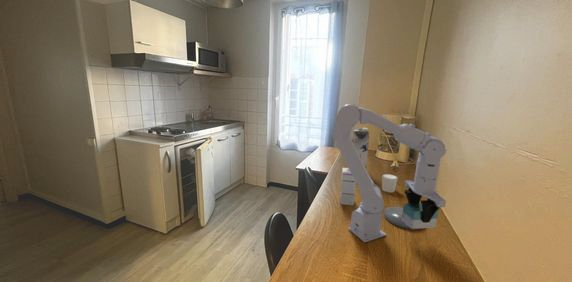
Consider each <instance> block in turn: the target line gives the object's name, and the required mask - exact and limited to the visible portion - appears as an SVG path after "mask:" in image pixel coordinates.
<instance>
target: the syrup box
mask: <svg viewBox="0 0 572 282" xmlns="http://www.w3.org/2000/svg"><path fill="white" fill-rule="evenodd" d="M356 185H357V183H356V181H355V179H354V177H353V175H352V173H351V172H350V170H349V168H348V167H342V168H341V177H340V194H339V201H340V205H346V206H355V197H356Z"/></svg>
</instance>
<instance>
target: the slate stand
mask: <svg viewBox="0 0 572 282" xmlns="http://www.w3.org/2000/svg"><path fill="white" fill-rule="evenodd" d="M383 212H384V213H383V217H384V218H385V219H386V220H387V222H389V224H392V225H394V226H396V227H398V228H402V229H406V230H412V229H411V228H410V227H409V226H408V225H407V224H406V223H404V222H403V221H402V214H403V207H402V206H389V207H387V208H385V210H384V211H383Z"/></svg>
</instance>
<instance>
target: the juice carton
mask: <svg viewBox="0 0 572 282" xmlns="http://www.w3.org/2000/svg"><path fill="white" fill-rule="evenodd" d="M352 132H353V133H352V135H351V136H352V137H351V141H352V143H353V144H354V146H355V148H356V150H357V152H358V154H359V156H360V158H361V160H362V162H363V164H364V166H365V168H366V169H367V166H368V165H367V163H368V154H369V146H370V145H369V144H370V143H369V142H370V132H369V128H367V127H362V128H353V131H352Z"/></svg>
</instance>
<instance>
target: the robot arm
mask: <svg viewBox="0 0 572 282" xmlns="http://www.w3.org/2000/svg"><path fill="white" fill-rule="evenodd" d="M357 123H359V125H365V124H369V125H370V124H371V125H373V126H375V127H378V128H379V129H382V130H384V131H386V132H388V133H389V134H391V135H393V137H394V140H395V141H396V142H398V143H401V144H402V145H404V146H406V147H408V148H410V149H412V150H414V151H419V152H418V155H417V156H418V157H417V161H416V168H415V174H414V180H413V181H412V180H409V179H408V180H404V187H406V188H408V189H405V190H404V195H405V197H406V199H407V203H421V205H422V222H423V223H427V222H430V220H431V218H432V217H433V215H434V214H435V212H436V211H437V210H439V209H440V208H445V207H446V204H447V201H446V199H444V198H443V197H442V196H440V195H439V193H438V190H437V189H436V187H437V183H438V182H437V181H438V178H439V177H438V176H439V171H440V164H441V159H442V158H443V157H444V156H445V155H446V154H447V149H446V146H445V144H444V142H443V141H442V140H441V139H439V138H437V137H435V136H434V135H432V134H431V133H430V132H428V131H427V132H424V131H422V130H420V129H419V128H417V127H416V125H415V124H412V123H410V124H408V123H402V124H397V123H395V122H394V121H392V120H390V119H388V118H386V117H385V116H383V115H380V114H379V113H376V112H375V111H373V110H371V109H368V108H365V107H362V106H357V105H355V104H353V103H346V104H344V105H343V106H341V108H340V109H339V111H338V112H337V114H336V116H335V118H334V126H333V127H334V128H333V134H332V135H333V136H332V138H333V140H334V143H335V144H336V146H337V148H338V150H339V151H340V153H341V156H342V157H343V160H344V161H345V164H346V165H347V168H349V170H350V172H351V173H352V175H353V177H354V179H355V181H356V185H357V187H358V191H359V194H360V197H361V198H362V200H361V202H359V206H358V207H357V209H355V210H353V211H352V212H351V216H350V226H349V227H348V230H349V231H351V233H352V234H354V235H355V236H356V237H358V238H359V239H360V240H361V241H363V243H367V242H370V241H373V240H376V239H379V238H383V237H385V236H387V234H386V232H384V231H383V230H382V221H383V214H384V213H383V212H384V208H385V202H384V198H383V196H382V195H383V194H382V189H381V188H380V187H379V186H378V185H377V184H375V183H374V180H373V179H372V178H371V176H370V175H369V173H368V170H367V167H366V168H365V166H364V164H363V162H362V160H361V158H360V156H359V154H358V152H357V150H356V148H355V146H354V144H353V143H352V138H351V136H350V135H351V133H352V132H353V131H352V130H353V129H354V127H355V126H356V125H357ZM422 197H423V198H425V200H424V199H423V200H421V199H422Z"/></svg>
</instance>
